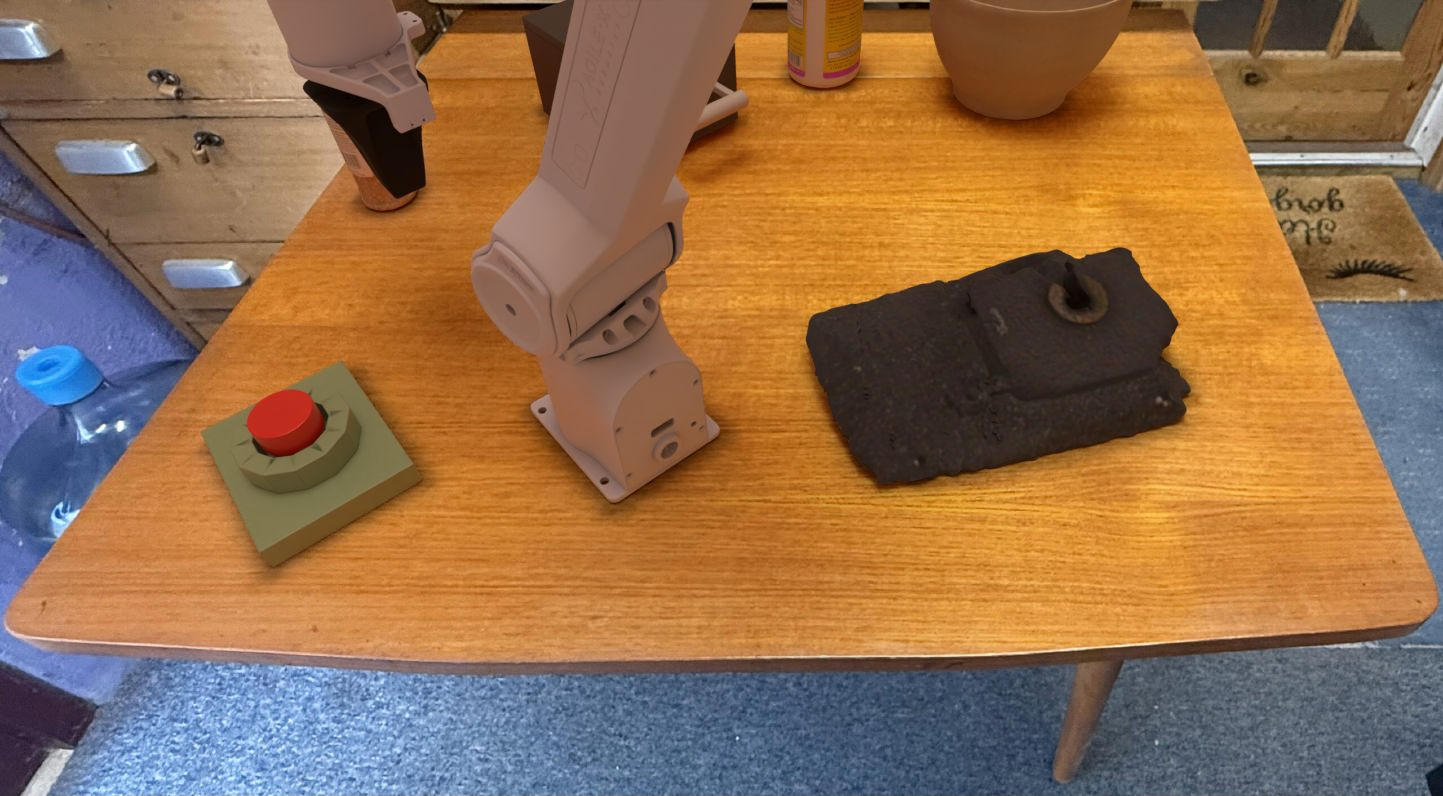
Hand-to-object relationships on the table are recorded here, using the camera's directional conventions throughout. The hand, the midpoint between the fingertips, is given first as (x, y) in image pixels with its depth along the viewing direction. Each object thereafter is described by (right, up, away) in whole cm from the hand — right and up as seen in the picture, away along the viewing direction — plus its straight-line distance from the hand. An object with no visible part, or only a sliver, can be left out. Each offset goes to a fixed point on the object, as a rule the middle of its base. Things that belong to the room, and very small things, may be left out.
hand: (406, 188), depth 50 cm
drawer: (+14, +11, +21) cm, 28 cm away
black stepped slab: (+36, -11, +2) cm, 37 cm away
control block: (-5, -17, 0) cm, 18 cm away
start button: (-6, -15, -3) cm, 16 cm away
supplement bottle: (+29, +17, +27) cm, 43 cm away
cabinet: (+12, +13, +24) cm, 29 cm away
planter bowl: (+44, +14, +23) cm, 52 cm away
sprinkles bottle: (-8, +4, +18) cm, 20 cm away
